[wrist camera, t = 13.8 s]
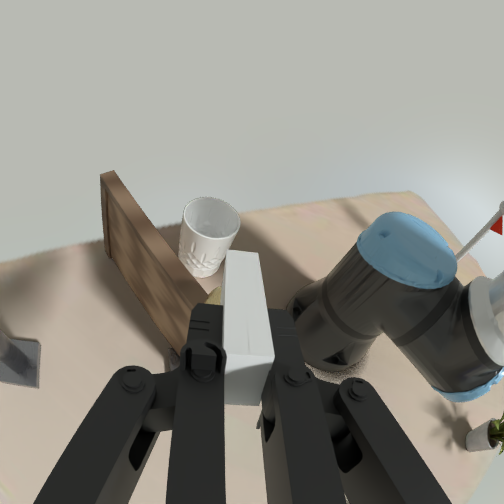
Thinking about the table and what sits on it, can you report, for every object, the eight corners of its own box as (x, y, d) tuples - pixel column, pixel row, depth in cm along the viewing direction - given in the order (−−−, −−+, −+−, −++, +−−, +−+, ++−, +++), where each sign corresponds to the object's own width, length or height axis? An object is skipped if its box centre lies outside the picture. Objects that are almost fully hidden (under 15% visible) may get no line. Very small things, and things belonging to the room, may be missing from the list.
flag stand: (404, 257, 66) (481, 170, 45) (438, 279, 66) (514, 203, 45) (406, 296, 58) (502, 203, 36) (443, 318, 58) (534, 239, 36)
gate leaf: (190, 353, 36) (212, 300, 25) (179, 361, 34) (196, 310, 24) (115, 246, 42) (113, 170, 31) (105, 251, 40) (100, 174, 30)
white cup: (164, 263, 44) (171, 218, 37) (191, 233, 49) (203, 189, 42) (207, 290, 44) (223, 249, 36) (231, 257, 49) (249, 215, 42)
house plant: (446, 471, 33) (518, 451, 21) (453, 409, 42) (517, 379, 30) (479, 472, 33) (540, 452, 21) (484, 419, 42) (540, 392, 30)
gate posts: (212, 349, 38) (264, 263, 23) (219, 391, 35) (282, 333, 20) (5, 340, 27) (-67, 248, 12) (1, 382, 24) (-88, 310, 9)
